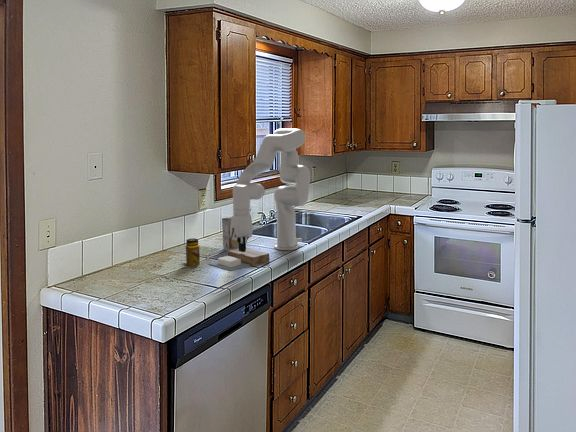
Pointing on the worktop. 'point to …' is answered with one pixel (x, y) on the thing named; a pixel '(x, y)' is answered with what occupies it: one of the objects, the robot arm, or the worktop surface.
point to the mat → (229, 267)
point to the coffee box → (228, 235)
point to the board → (250, 256)
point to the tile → (229, 261)
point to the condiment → (192, 253)
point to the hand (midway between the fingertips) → (242, 251)
